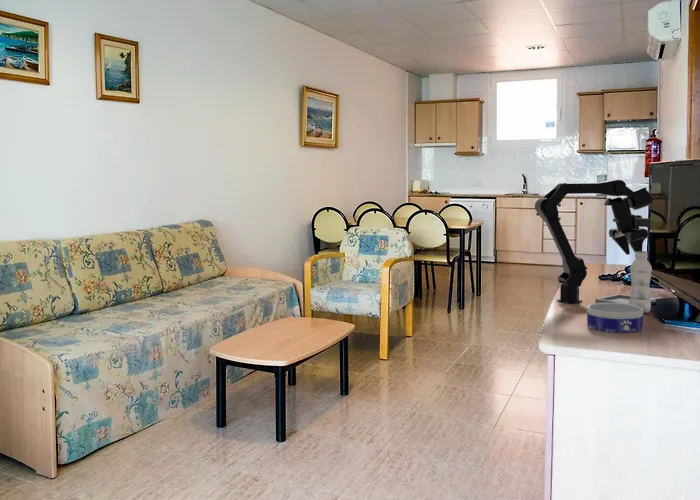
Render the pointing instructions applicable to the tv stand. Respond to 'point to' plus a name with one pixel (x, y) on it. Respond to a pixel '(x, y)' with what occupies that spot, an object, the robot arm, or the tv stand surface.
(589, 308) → the dog bowl
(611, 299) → the grey tray
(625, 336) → the tv stand surface
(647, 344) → the tv stand surface
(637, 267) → the plastic bottle
